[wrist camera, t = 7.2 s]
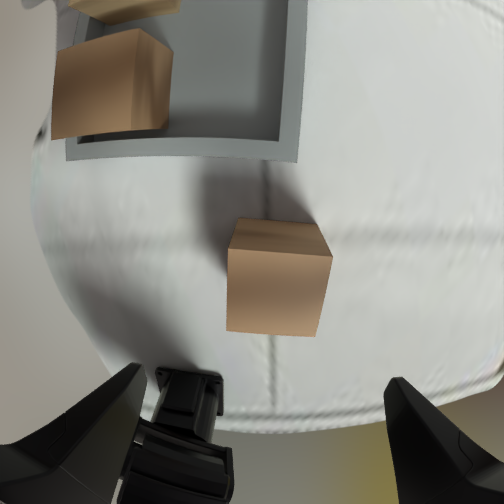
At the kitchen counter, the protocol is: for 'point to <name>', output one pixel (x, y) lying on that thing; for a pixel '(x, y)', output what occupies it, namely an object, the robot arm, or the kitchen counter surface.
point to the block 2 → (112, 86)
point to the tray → (217, 82)
